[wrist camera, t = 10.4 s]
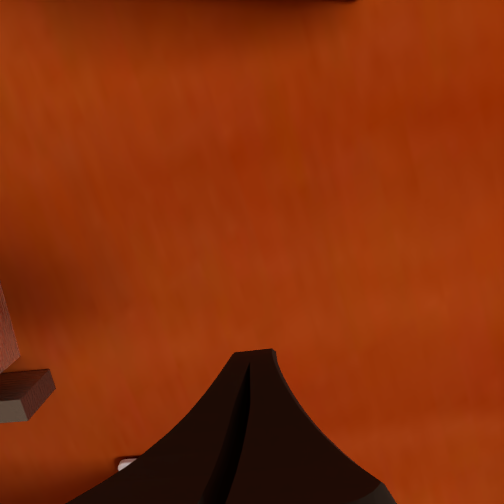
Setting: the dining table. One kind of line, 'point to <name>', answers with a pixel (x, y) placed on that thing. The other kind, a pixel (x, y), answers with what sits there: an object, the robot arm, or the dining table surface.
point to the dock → (23, 394)
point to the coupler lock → (6, 336)
